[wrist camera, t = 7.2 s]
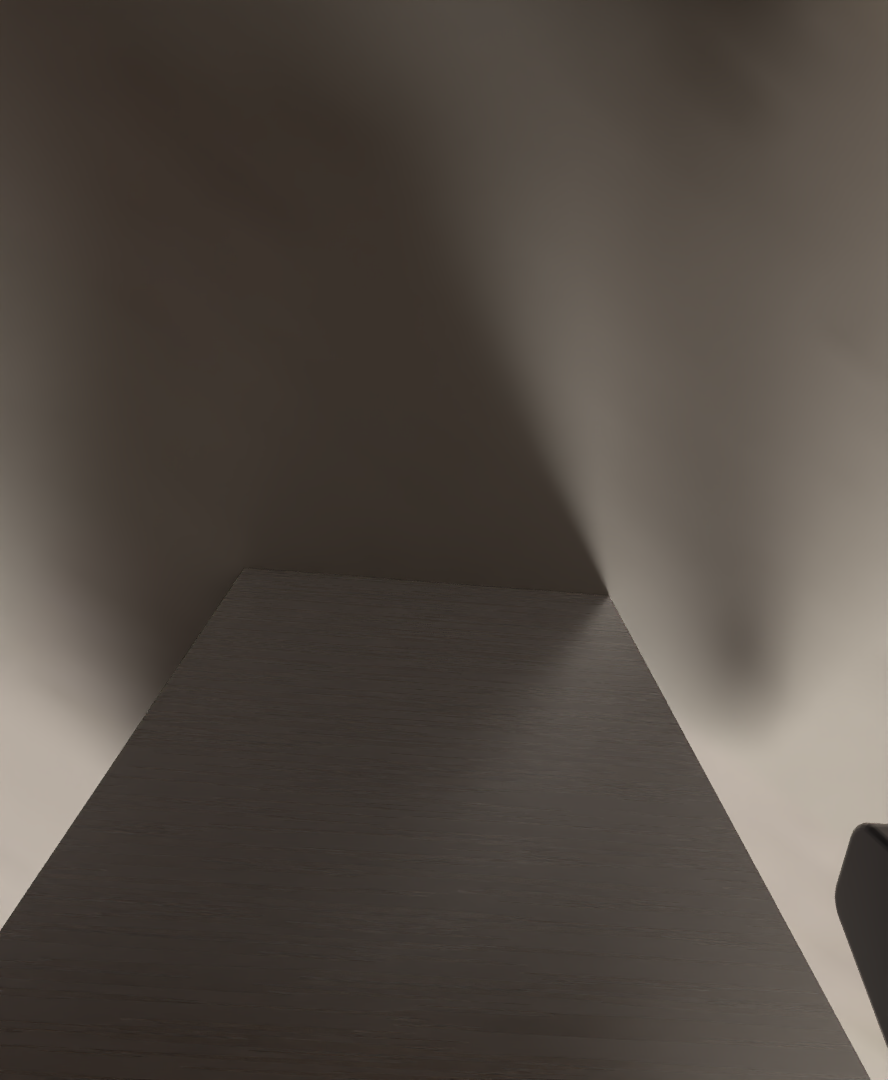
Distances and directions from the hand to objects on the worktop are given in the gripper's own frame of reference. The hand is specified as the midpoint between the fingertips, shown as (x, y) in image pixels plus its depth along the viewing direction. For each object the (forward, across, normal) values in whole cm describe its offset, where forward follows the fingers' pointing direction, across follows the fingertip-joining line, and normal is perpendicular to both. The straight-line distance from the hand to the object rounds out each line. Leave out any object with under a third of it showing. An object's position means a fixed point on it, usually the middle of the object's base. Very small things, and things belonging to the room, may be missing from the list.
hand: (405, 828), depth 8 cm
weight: (+2, 0, 0) cm, 2 cm away
